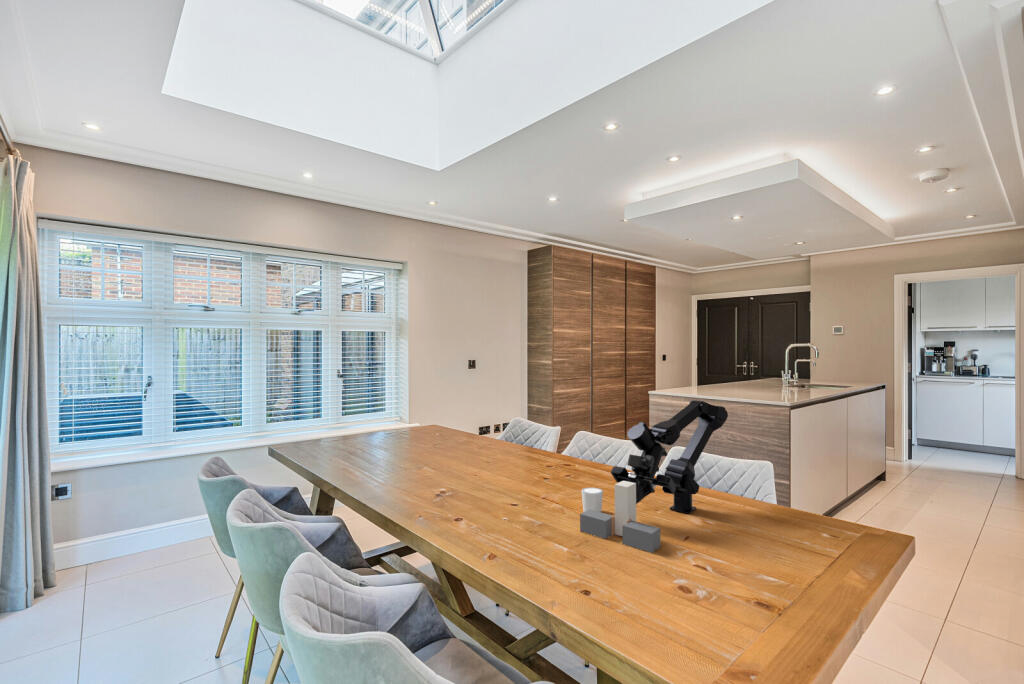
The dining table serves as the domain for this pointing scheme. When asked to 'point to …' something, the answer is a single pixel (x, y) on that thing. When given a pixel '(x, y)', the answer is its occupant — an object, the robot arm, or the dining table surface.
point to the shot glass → (592, 499)
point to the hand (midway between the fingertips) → (632, 504)
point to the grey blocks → (632, 531)
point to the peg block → (624, 504)
